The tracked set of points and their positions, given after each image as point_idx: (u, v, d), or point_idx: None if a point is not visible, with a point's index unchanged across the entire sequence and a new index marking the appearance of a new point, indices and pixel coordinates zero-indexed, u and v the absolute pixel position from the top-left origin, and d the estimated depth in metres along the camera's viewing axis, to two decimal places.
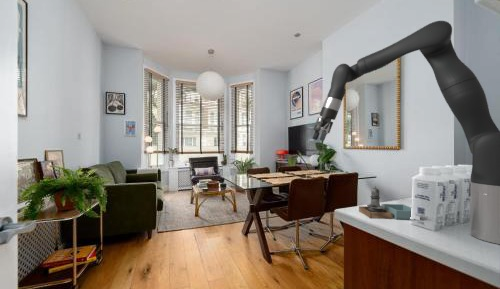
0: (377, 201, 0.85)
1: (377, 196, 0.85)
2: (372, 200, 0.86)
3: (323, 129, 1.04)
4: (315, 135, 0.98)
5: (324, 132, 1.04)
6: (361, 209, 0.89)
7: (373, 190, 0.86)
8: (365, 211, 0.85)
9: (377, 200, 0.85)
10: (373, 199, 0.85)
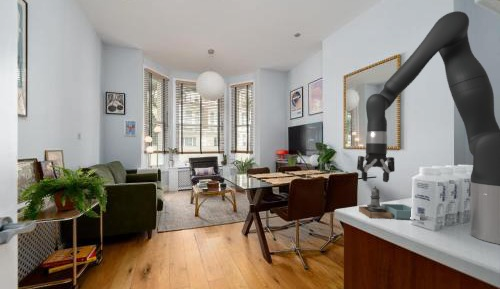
0: (377, 201, 0.85)
1: (377, 196, 0.85)
2: (372, 200, 0.86)
3: (382, 168, 0.87)
4: (362, 176, 0.86)
5: (385, 171, 0.86)
6: (361, 209, 0.89)
7: (373, 190, 0.86)
8: (365, 211, 0.85)
9: (377, 200, 0.85)
10: (373, 199, 0.85)
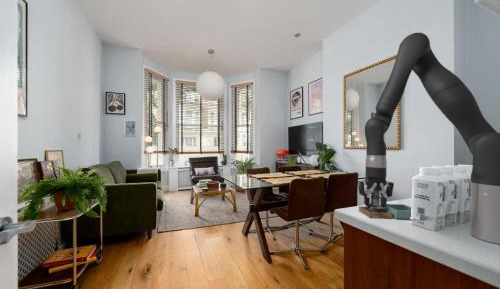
0: (377, 201, 0.85)
1: (377, 196, 0.85)
2: (372, 200, 0.86)
3: (380, 192, 0.87)
4: (365, 201, 0.86)
5: (382, 196, 0.86)
6: (361, 209, 0.89)
7: None
8: (365, 211, 0.85)
9: (377, 200, 0.85)
10: (373, 199, 0.85)
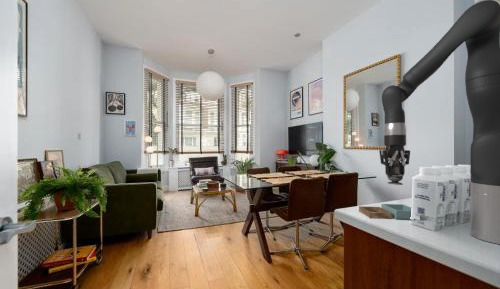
0: (398, 169, 0.84)
1: (398, 164, 0.84)
2: (393, 169, 0.85)
3: None
4: (387, 170, 0.84)
5: (400, 164, 0.86)
6: (361, 209, 0.89)
7: None
8: (365, 211, 0.85)
9: (398, 168, 0.84)
10: (394, 167, 0.84)
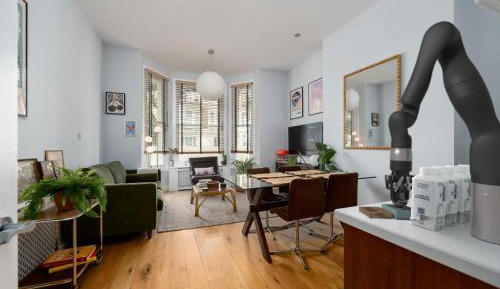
0: (403, 194, 0.84)
1: (403, 189, 0.84)
2: (398, 194, 0.85)
3: None
4: (392, 195, 0.85)
5: (405, 189, 0.87)
6: (361, 209, 0.89)
7: None
8: (365, 211, 0.85)
9: (403, 193, 0.84)
10: (399, 193, 0.85)
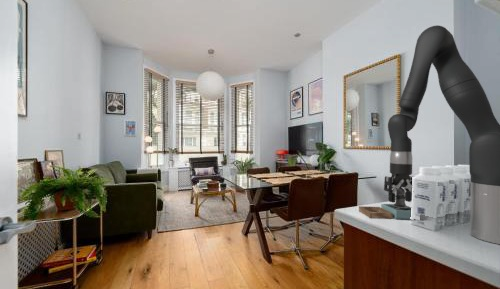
0: (403, 200, 0.84)
1: (403, 195, 0.84)
2: (398, 200, 0.85)
3: (404, 187, 0.87)
4: (390, 197, 0.84)
5: (407, 191, 0.87)
6: (361, 209, 0.89)
7: (399, 190, 0.85)
8: (365, 211, 0.85)
9: (403, 199, 0.84)
10: (400, 199, 0.84)
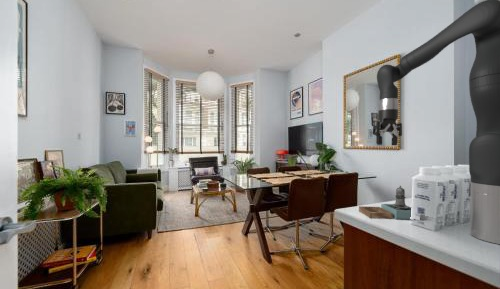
0: (403, 200, 0.84)
1: (403, 195, 0.84)
2: (398, 200, 0.85)
3: (391, 133, 0.96)
4: (378, 140, 0.93)
5: (394, 136, 0.96)
6: (361, 209, 0.89)
7: (399, 190, 0.85)
8: (365, 211, 0.85)
9: (403, 199, 0.84)
10: (399, 199, 0.85)
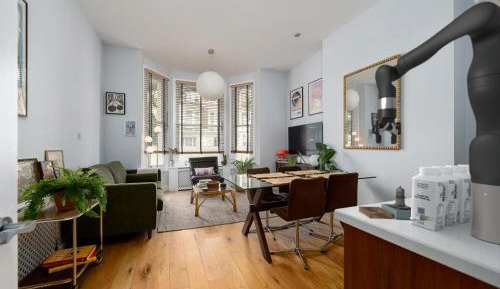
0: (403, 200, 0.84)
1: (403, 195, 0.84)
2: (398, 200, 0.85)
3: (390, 132, 0.97)
4: (377, 138, 0.94)
5: (393, 135, 0.97)
6: (361, 209, 0.89)
7: (399, 190, 0.85)
8: (365, 211, 0.85)
9: (403, 199, 0.84)
10: (399, 199, 0.85)
